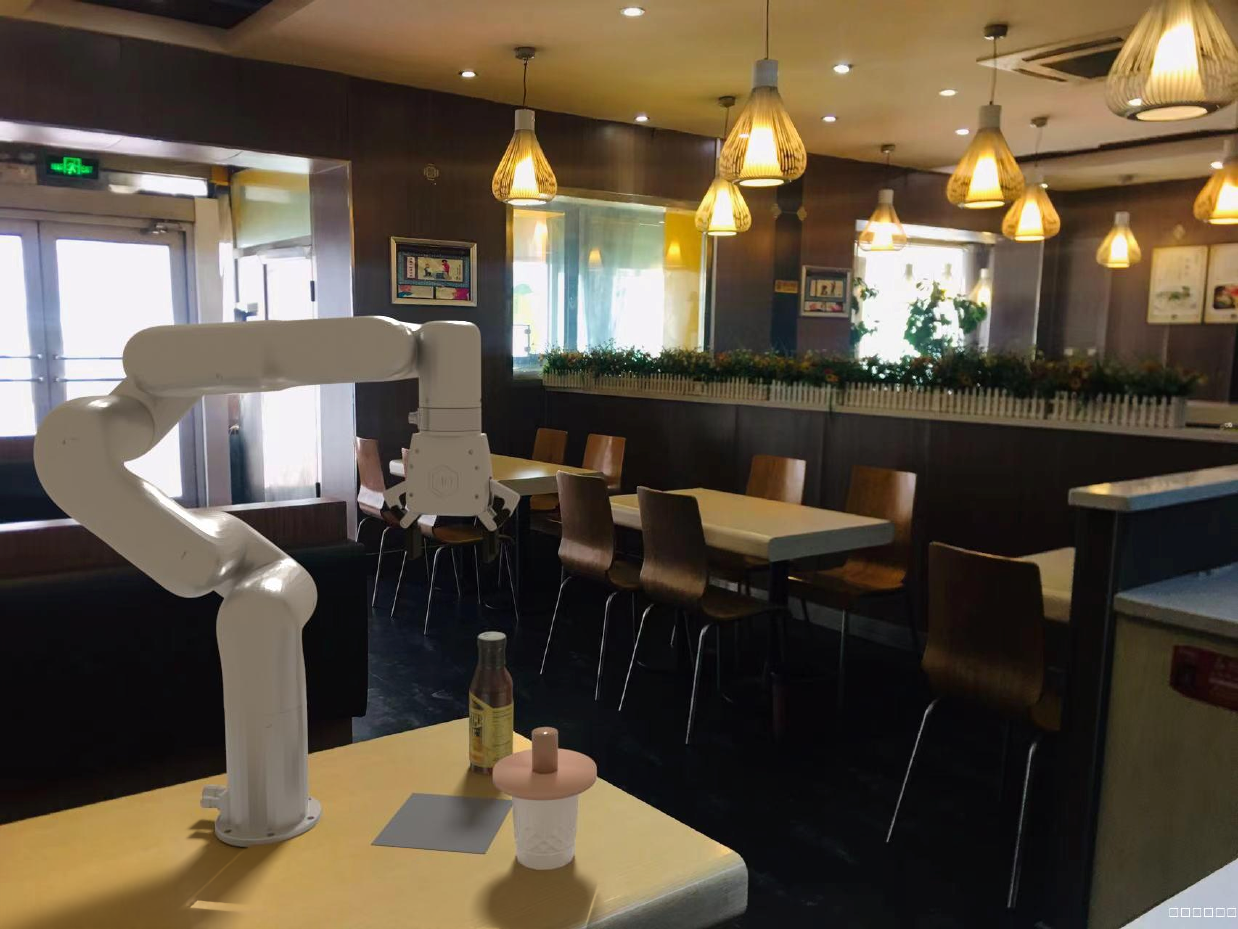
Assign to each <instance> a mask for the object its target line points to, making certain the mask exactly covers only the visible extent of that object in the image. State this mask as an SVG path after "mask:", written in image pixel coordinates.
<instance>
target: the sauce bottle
mask: <svg viewBox="0 0 1238 929" xmlns="http://www.w3.org/2000/svg"><path fill="white" fill-rule="evenodd" d="M476 641H477V642H476V645H477V647H478V657H477V658H478V662H477V666H476V669H475V672H474V676H473V678H472V680H471V683H470V687H469V691H468V693H469V694H468V705H469V706H468V710H469V711H468V759H469V762H470V764H469V767H470V770H471V771H473V772H474V773H477V774H479V775H489V776H490V775H493V768H494V766H495V764H496V763H497V762H498V761H499V760H501V759H502V758H504V757H506V756H508V755H511V754H513V753H514V752H513V751H514V697H513V696H514V695H513V692H514V691H513V690H514V689H513V688H514V683H513V678H512V676H511V674H510V672H509V671H508V670H507V667H506V647H507V646H506V645H507V636H506V634H505V633H503V632H501V631H500V632H498V631H485V632H482V633H480V634H479V635H478V636H477V640H476Z"/></svg>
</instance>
